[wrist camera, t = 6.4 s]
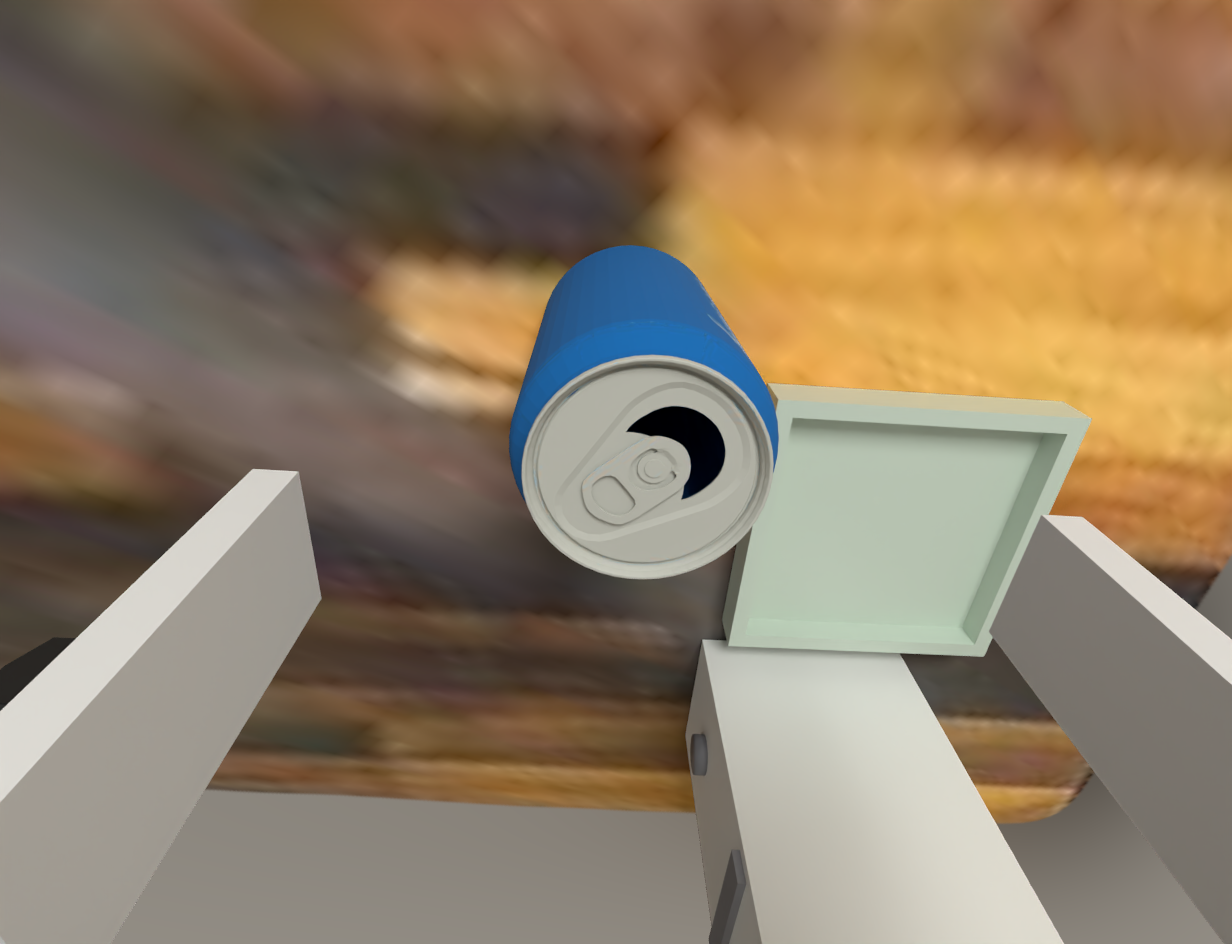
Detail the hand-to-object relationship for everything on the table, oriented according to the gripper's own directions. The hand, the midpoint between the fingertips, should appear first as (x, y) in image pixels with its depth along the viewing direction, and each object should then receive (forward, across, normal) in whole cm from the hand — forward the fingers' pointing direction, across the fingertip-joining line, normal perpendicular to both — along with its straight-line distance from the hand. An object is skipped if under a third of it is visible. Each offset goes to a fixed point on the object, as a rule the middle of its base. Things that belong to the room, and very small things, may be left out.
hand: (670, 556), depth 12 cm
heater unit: (+15, +10, -19) cm, 26 cm away
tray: (+15, +12, -8) cm, 21 cm away
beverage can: (+15, 0, 0) cm, 15 cm away
